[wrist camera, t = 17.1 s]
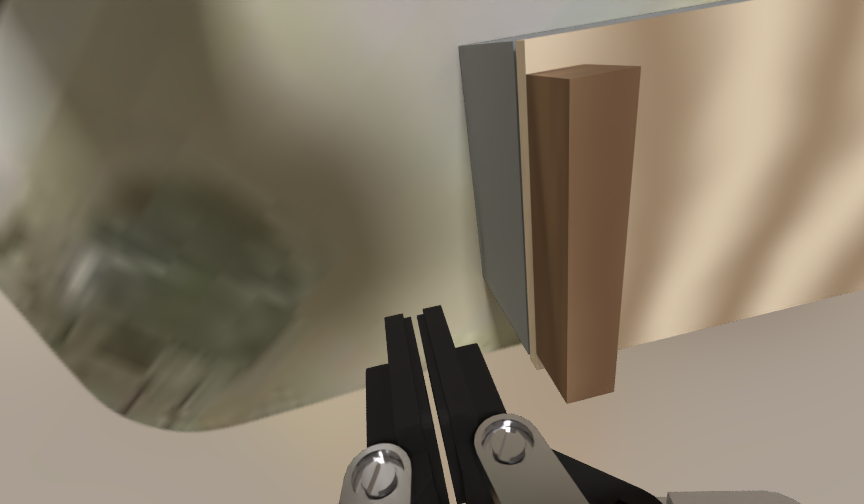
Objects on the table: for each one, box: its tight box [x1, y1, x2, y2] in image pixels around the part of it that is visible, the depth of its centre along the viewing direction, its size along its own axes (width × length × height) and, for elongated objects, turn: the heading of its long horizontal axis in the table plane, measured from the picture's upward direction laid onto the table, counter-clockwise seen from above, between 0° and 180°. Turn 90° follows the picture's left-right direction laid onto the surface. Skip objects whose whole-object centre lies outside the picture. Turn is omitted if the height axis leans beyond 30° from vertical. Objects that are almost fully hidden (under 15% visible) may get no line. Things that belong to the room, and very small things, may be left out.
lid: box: [516, 0, 864, 404], centre depth 16 cm, size 22×14×4 cm, turn 98°
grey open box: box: [459, 0, 751, 354], centre depth 21 cm, size 22×14×8 cm, turn 98°
